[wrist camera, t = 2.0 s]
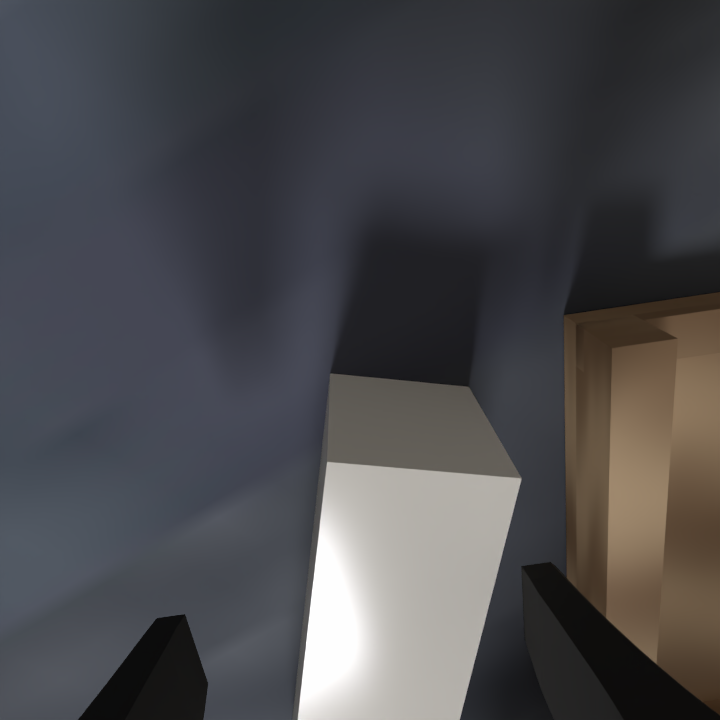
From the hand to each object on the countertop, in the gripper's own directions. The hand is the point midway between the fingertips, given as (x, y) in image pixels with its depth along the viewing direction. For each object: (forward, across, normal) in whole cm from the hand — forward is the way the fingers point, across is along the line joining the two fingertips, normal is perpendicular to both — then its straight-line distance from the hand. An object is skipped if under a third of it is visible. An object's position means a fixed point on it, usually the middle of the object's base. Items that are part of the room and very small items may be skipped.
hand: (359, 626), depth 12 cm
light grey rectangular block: (+6, 0, +4) cm, 7 cm away
